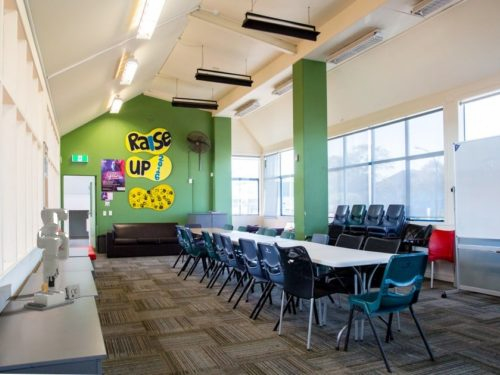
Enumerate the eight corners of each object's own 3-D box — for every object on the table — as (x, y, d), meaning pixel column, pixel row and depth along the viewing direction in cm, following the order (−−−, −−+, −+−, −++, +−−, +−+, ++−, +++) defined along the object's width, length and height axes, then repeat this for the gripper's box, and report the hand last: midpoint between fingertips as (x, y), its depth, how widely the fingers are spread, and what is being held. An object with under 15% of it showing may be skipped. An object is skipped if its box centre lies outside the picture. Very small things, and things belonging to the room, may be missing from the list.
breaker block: (23, 307, 247) (23, 292, 247) (54, 299, 266) (54, 286, 266) (43, 310, 238) (43, 295, 238) (74, 303, 257) (74, 289, 257)
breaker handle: (41, 292, 253) (41, 284, 254) (46, 291, 256) (46, 283, 256) (43, 292, 252) (43, 284, 253) (48, 291, 255) (48, 283, 255)
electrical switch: (69, 300, 265) (69, 285, 265) (64, 300, 267) (63, 286, 268) (81, 297, 273) (81, 283, 274) (76, 297, 275) (75, 283, 276)
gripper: (38, 257, 252) (38, 287, 252) (53, 258, 245) (53, 289, 244) (49, 256, 259) (49, 285, 258) (64, 257, 252) (64, 287, 251)
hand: (51, 287), depth 251 cm, fingers closed
